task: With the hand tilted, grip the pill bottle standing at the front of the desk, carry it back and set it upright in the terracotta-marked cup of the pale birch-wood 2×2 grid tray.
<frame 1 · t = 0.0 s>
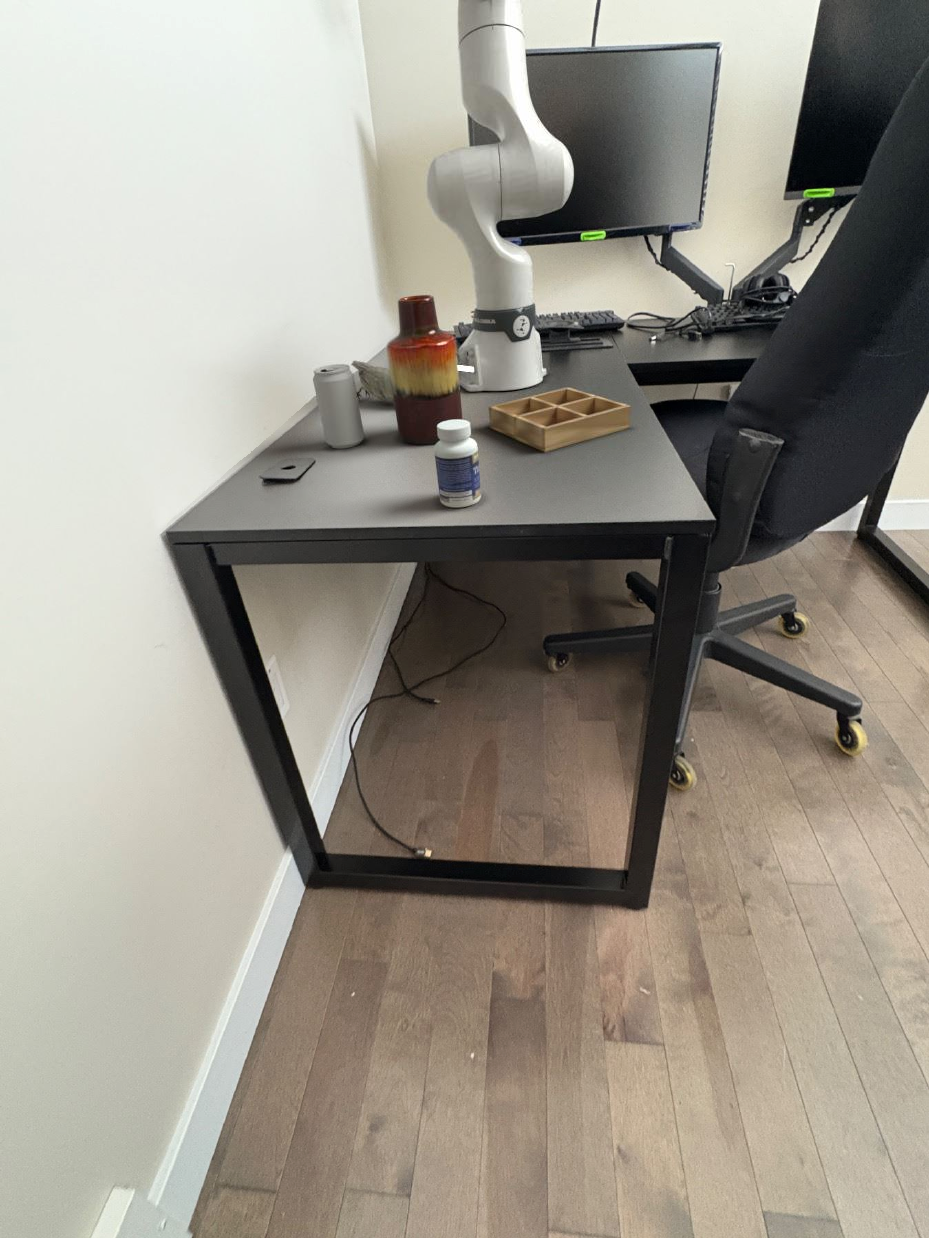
decorative bird: (387, 404, 119), on the table
vase: (431, 435, 100), on the table
grid: (557, 428, 97), on the table
beverage can: (346, 444, 100), on the table
pill bottle: (460, 501, 77), on the table
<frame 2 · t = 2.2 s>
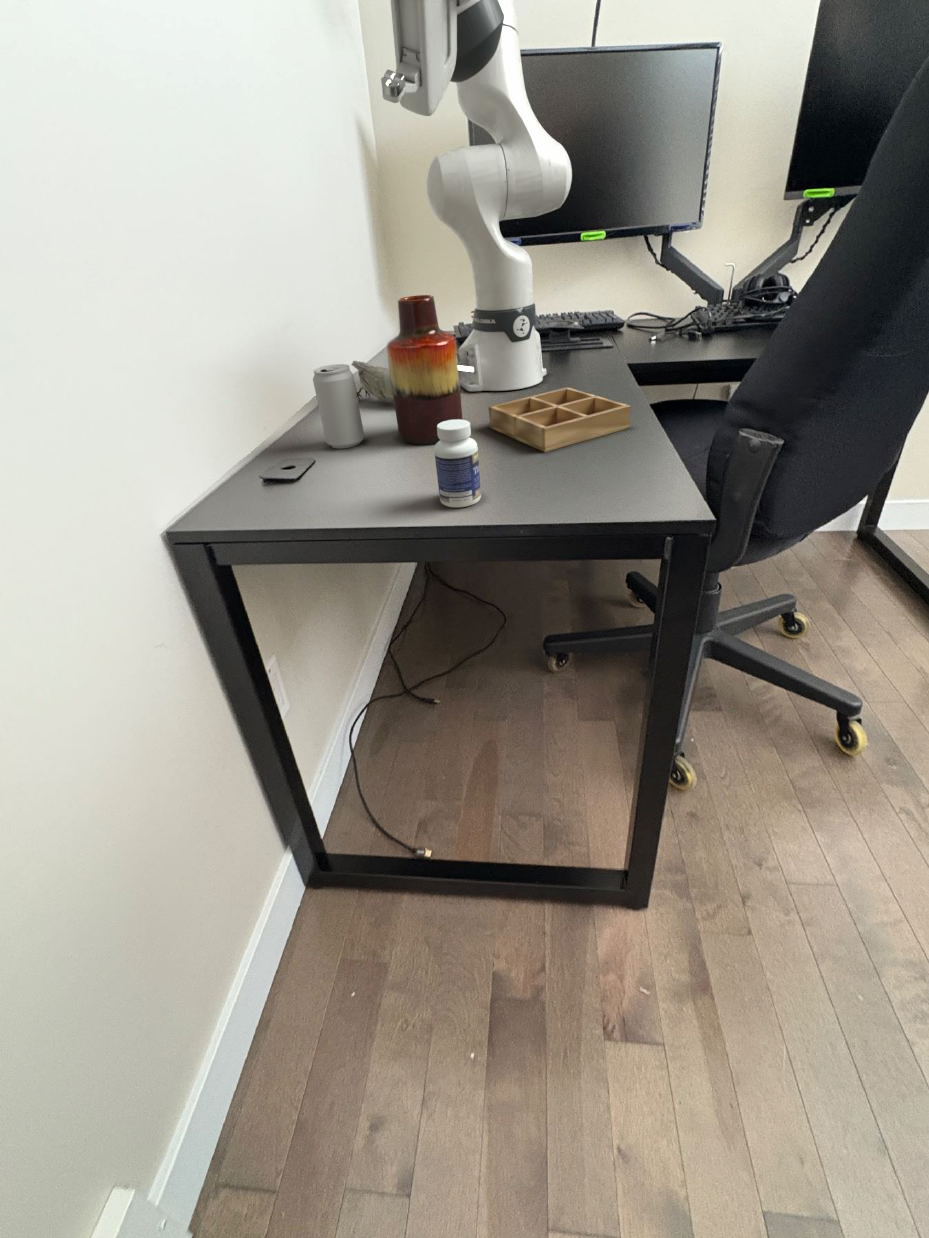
hand: (382, 34, 53), 44 cm above the table, tool tilted 55°, fingers open, 8 cm apart
nothing on the table moved.
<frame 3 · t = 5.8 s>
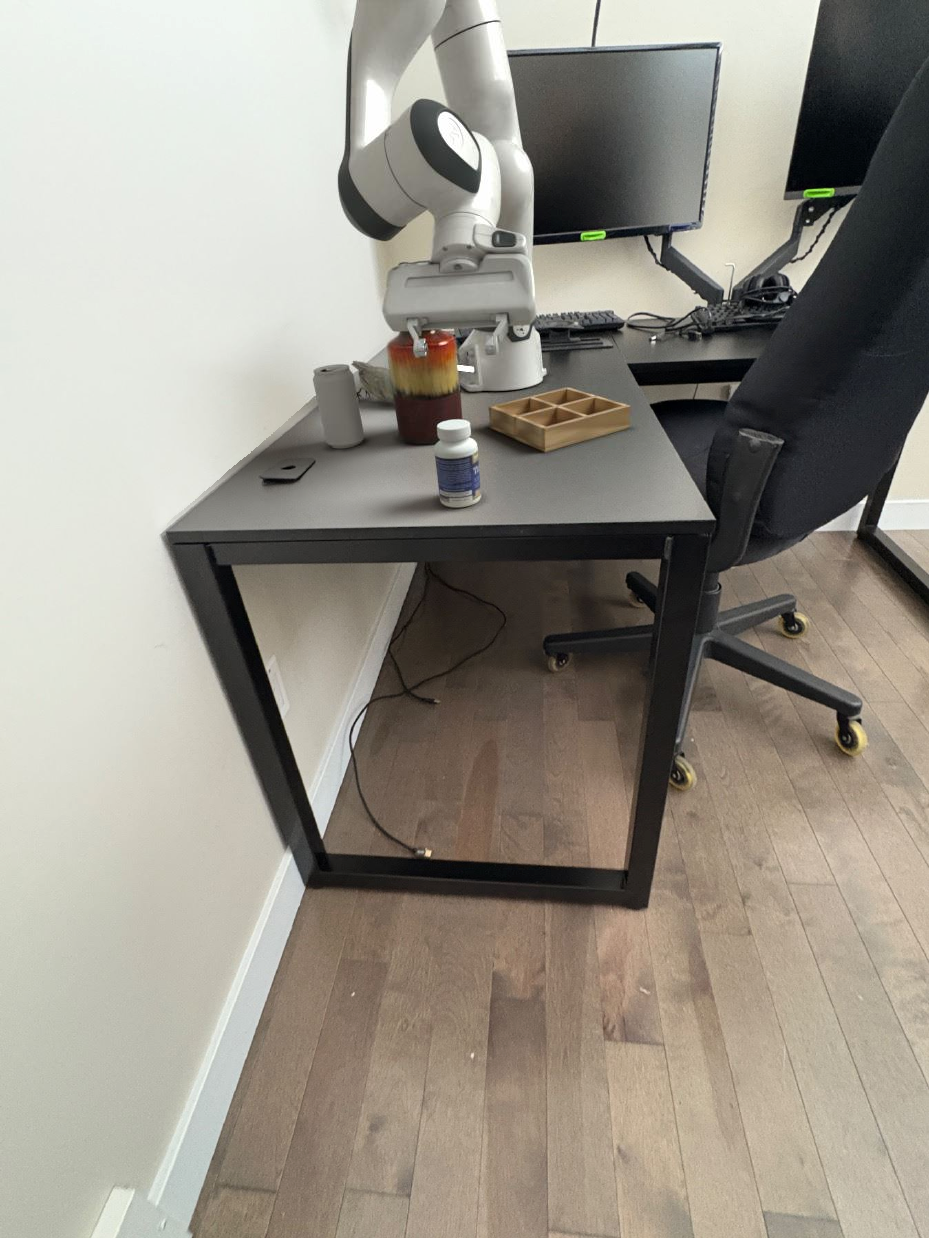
hand: (455, 353, 77), 15 cm above the table, tool tilted 45°, fingers open, 8 cm apart
nothing on the table moved.
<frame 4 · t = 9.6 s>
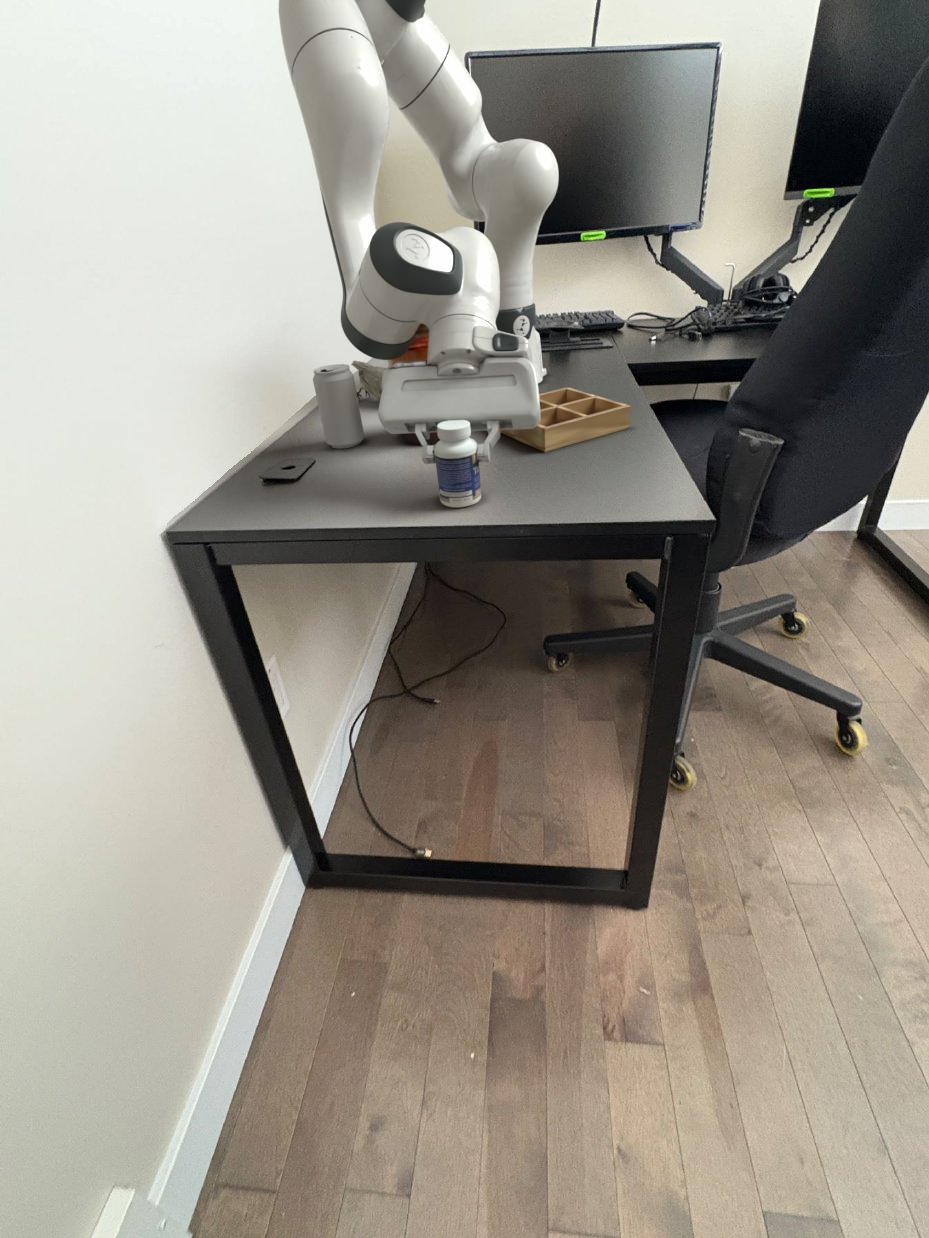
hand: (456, 461, 74), 5 cm above the table, tool tilted 45°, fingers closed on pill bottle, 5 cm apart
pill bottle: (461, 501, 77), on the table, touching gripper
everything else where it was.
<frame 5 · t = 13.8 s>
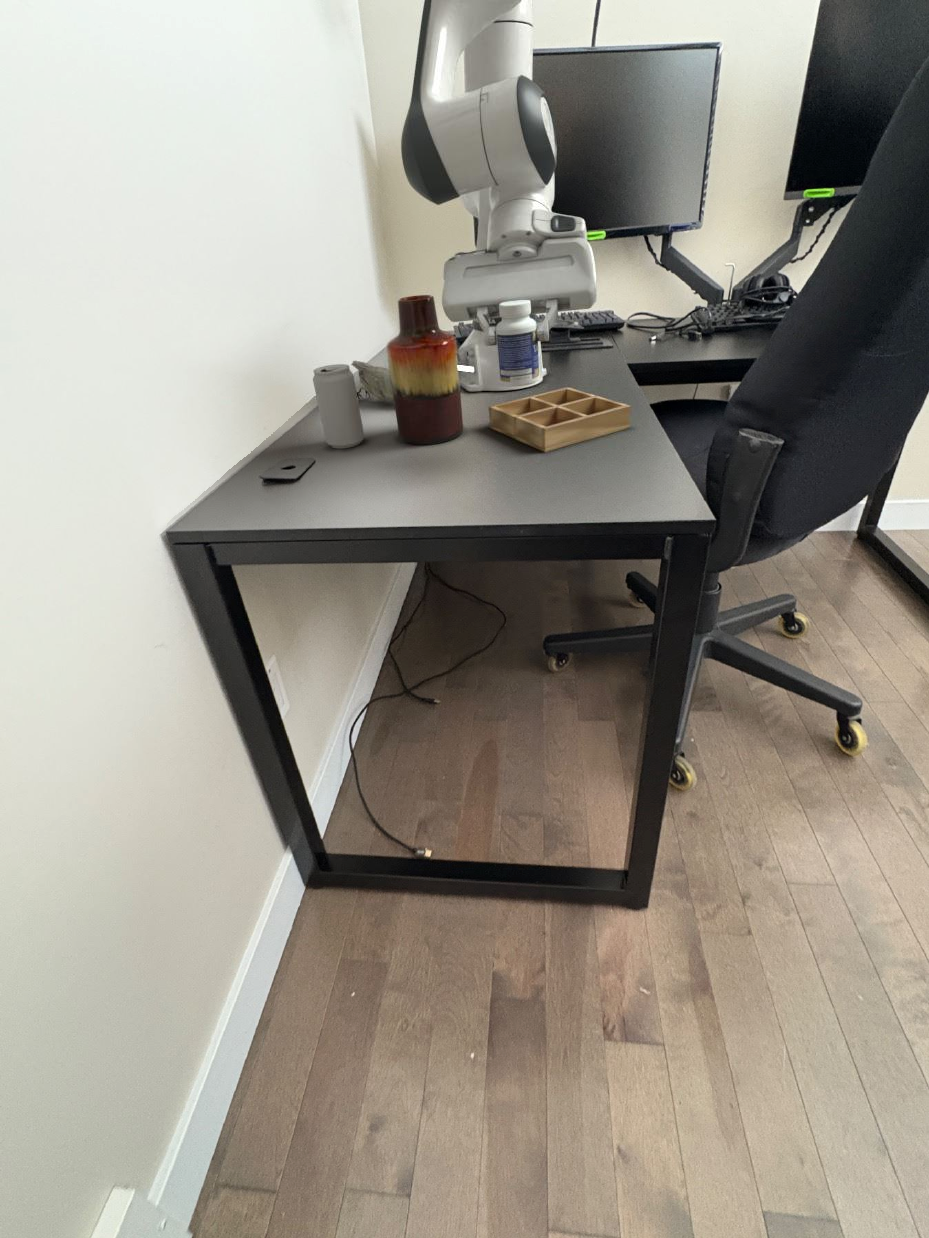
hand: (516, 340, 78), 16 cm above the table, tool tilted 45°, fingers closed on pill bottle, 5 cm apart
pill bottle: (519, 383, 81), point 10 cm above the table, touching gripper
everything else where it was.
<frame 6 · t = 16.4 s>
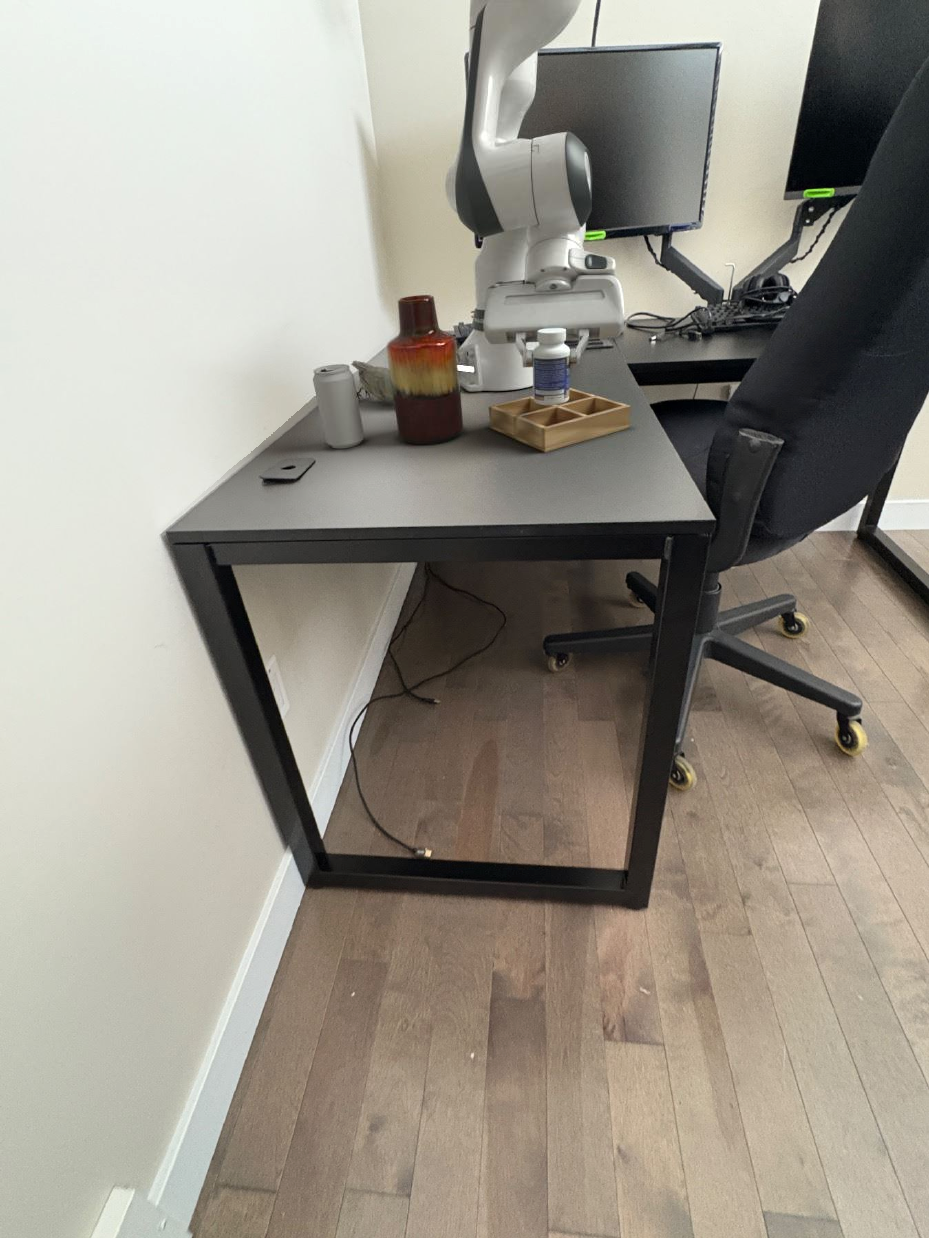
hand: (551, 364, 86), 11 cm above the table, tool tilted 45°, fingers closed on pill bottle, 5 cm apart
pill bottle: (551, 402, 90), point 6 cm above the table, touching gripper
everything else where it was.
when the fingers open (6 cm above the table, at t = 18.3 s): pill bottle stays where it is, resting on grid.
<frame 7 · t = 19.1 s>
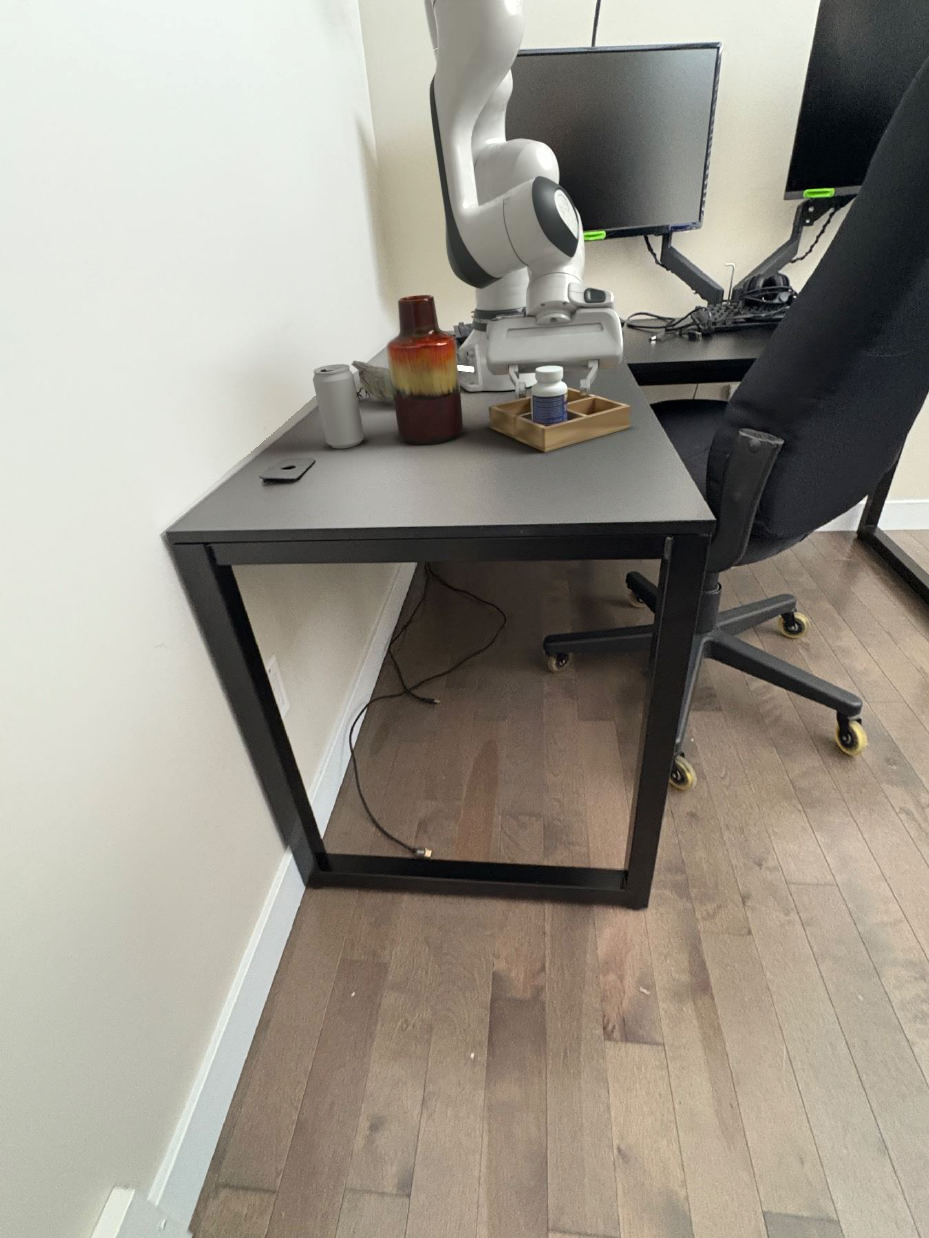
hand: (552, 395, 89), 7 cm above the table, tool tilted 45°, fingers open, 8 cm apart
pill bottle: (549, 436, 93), point 1 cm above the table, touching grid
everything else where it was.
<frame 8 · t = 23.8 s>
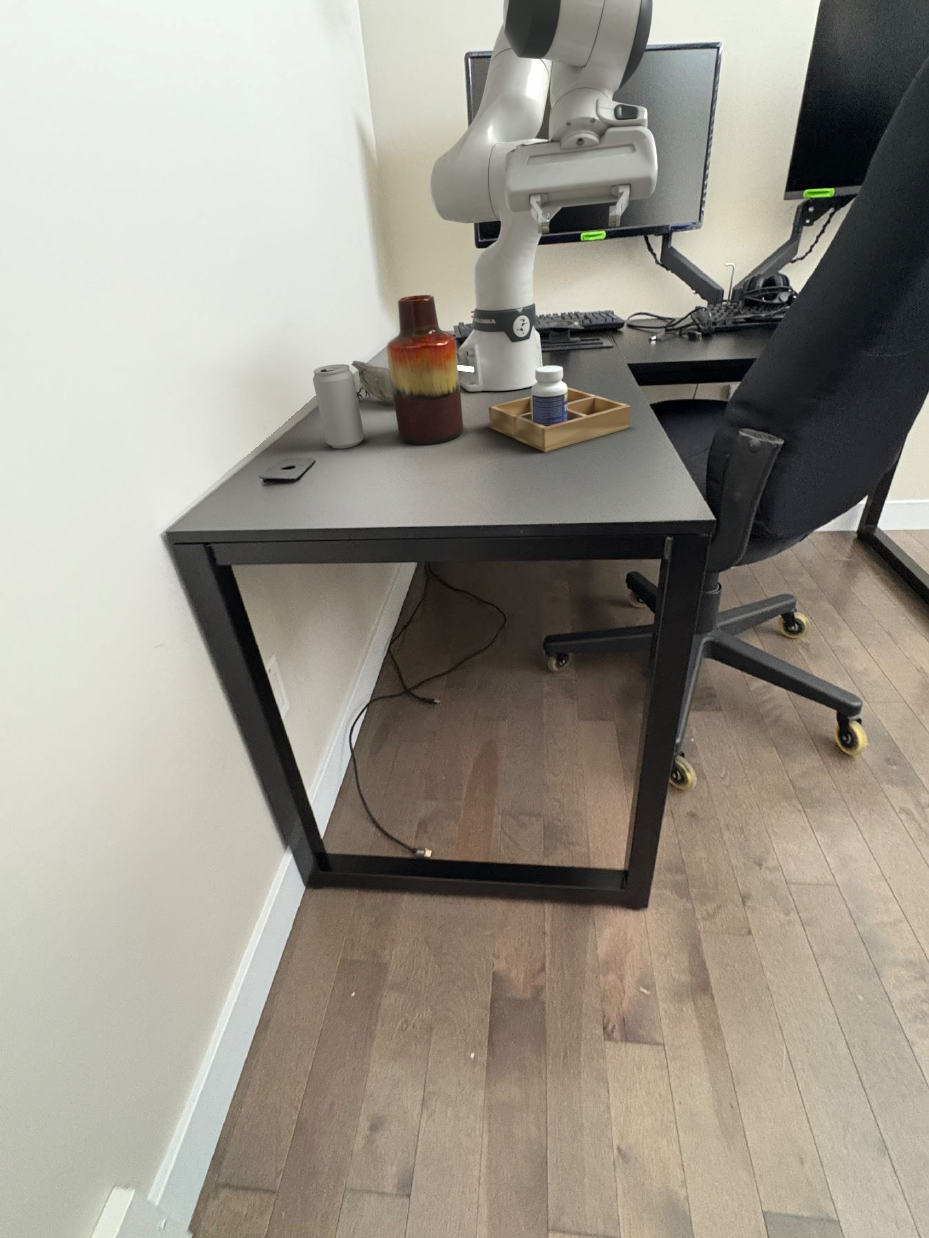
hand: (578, 226, 81), 27 cm above the table, tool tilted 45°, fingers open, 8 cm apart
nothing on the table moved.
at the end: pill bottle 0.3 cm from the target spot in the grid, point 0.5 cm above the grid's base; pill bottle tilted 0°; the gripper is holding nothing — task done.
